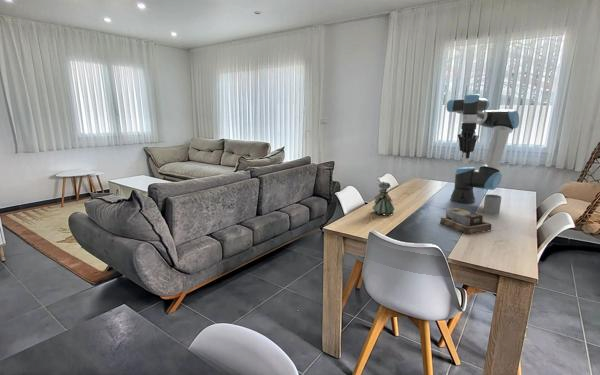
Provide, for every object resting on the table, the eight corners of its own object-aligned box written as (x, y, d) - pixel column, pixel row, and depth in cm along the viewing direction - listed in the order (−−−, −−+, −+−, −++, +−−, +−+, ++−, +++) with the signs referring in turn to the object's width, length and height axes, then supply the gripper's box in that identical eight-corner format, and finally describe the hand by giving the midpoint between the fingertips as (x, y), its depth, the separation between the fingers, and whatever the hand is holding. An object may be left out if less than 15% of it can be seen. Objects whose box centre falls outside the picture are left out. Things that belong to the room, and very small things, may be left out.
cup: (498, 210, 195) (500, 195, 193) (500, 214, 188) (502, 198, 185) (482, 209, 198) (484, 194, 196) (483, 213, 191) (485, 197, 189)
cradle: (440, 223, 175) (440, 217, 174) (463, 219, 180) (463, 214, 179) (466, 234, 158) (467, 228, 158) (490, 230, 163) (491, 224, 163)
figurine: (365, 213, 195) (366, 181, 190) (377, 208, 205) (378, 178, 200) (387, 218, 185) (388, 185, 181) (398, 212, 195) (400, 181, 191)
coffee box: (457, 207, 179) (483, 215, 165) (456, 218, 181) (482, 226, 166) (445, 209, 176) (471, 217, 161) (444, 220, 177) (470, 229, 163)
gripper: (455, 122, 184) (451, 162, 190) (473, 122, 172) (469, 165, 178) (465, 122, 187) (461, 161, 192) (484, 122, 175) (479, 164, 180)
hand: (465, 163), depth 185 cm, fingers closed
